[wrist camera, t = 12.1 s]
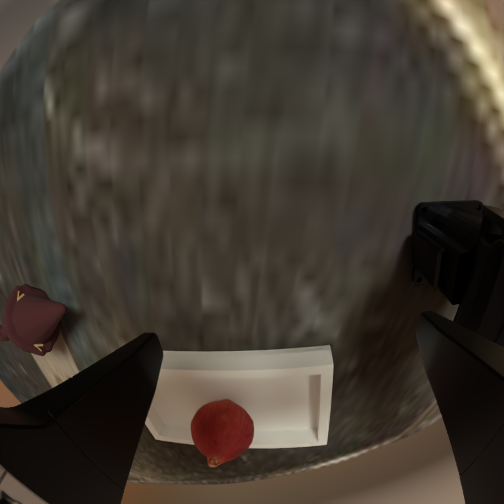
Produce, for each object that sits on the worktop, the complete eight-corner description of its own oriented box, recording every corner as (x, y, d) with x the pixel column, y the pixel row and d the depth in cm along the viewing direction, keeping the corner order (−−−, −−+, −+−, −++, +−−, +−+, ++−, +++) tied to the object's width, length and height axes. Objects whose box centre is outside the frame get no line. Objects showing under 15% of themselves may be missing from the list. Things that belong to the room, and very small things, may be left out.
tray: (329, 344, 23) (333, 364, 21) (325, 427, 28) (326, 444, 26) (121, 348, 26) (110, 363, 24) (161, 424, 30) (155, 439, 28)
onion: (267, 395, 25) (261, 465, 18) (243, 423, 28) (233, 484, 20) (210, 374, 25) (190, 444, 18) (193, 405, 27) (173, 466, 20)
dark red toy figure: (18, 274, 17) (-21, 306, 21) (52, 365, 17) (2, 366, 22) (77, 259, 23) (20, 292, 28) (106, 334, 24) (41, 346, 28)
